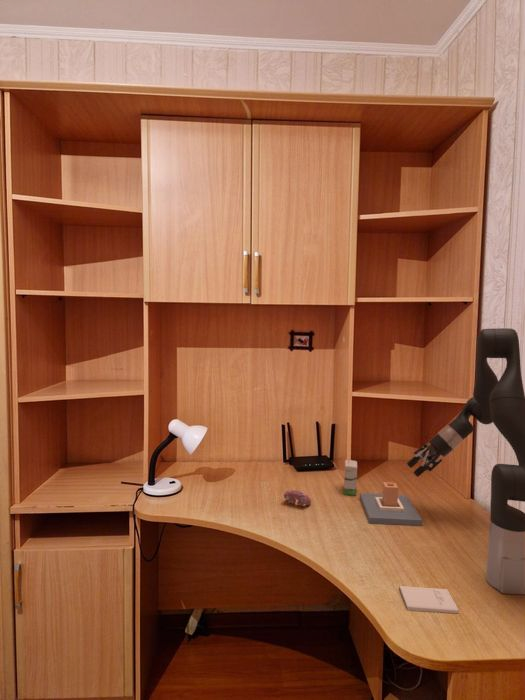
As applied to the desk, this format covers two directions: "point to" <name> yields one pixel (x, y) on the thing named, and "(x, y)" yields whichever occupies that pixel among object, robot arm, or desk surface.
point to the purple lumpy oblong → (297, 497)
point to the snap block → (390, 494)
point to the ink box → (350, 477)
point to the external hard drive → (428, 599)
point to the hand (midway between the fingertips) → (411, 470)
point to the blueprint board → (390, 510)
